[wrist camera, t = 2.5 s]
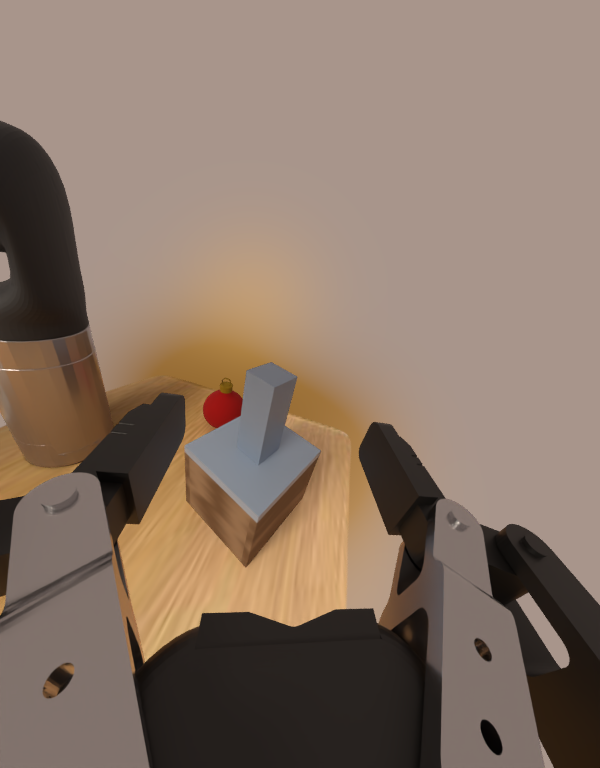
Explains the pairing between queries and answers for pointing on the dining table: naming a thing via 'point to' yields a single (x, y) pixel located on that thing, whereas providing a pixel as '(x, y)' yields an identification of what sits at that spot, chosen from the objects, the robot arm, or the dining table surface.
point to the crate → (238, 511)
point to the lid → (256, 444)
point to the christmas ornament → (222, 405)
